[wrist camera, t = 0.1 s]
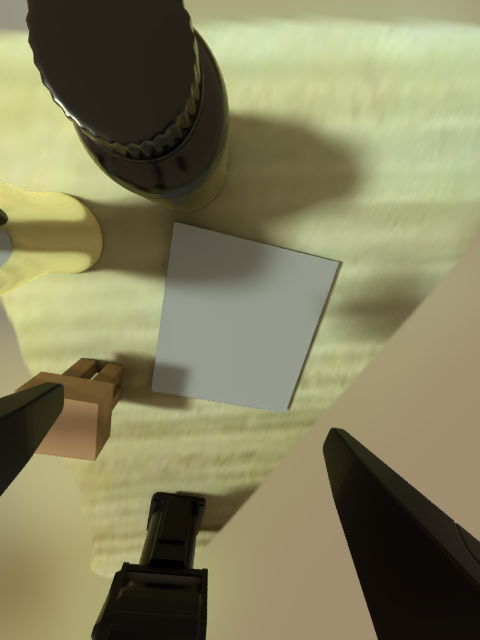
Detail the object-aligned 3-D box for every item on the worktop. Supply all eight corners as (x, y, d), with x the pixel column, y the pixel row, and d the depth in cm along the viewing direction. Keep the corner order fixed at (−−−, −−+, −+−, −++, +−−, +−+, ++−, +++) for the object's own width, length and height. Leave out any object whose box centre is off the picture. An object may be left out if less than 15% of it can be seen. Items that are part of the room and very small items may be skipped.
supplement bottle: (148, 217, 19) (35, 192, 8) (126, 113, 17) (-78, -129, 6) (233, 208, 19) (240, 168, 8) (222, 103, 17) (211, -159, 6)
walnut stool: (127, 405, 25) (94, 460, 19) (72, 397, 24) (19, 451, 18) (132, 359, 23) (98, 403, 17) (72, 349, 23) (14, 390, 17)
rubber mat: (284, 409, 26) (285, 413, 25) (152, 387, 24) (150, 391, 24) (336, 261, 21) (339, 262, 20) (175, 221, 19) (173, 221, 19)
